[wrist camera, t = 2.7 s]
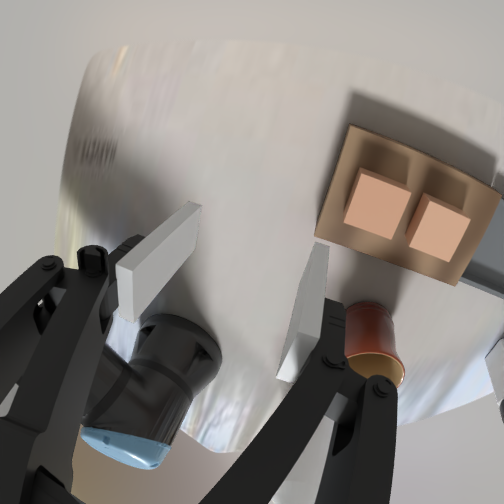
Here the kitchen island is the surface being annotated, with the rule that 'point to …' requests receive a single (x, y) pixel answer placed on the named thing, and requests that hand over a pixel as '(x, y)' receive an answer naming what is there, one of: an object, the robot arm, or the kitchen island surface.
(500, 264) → the tray
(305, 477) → the bottle
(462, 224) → the tile
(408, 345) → the kitchen island surface
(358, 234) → the board
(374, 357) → the mug
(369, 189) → the tile
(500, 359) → the jar
